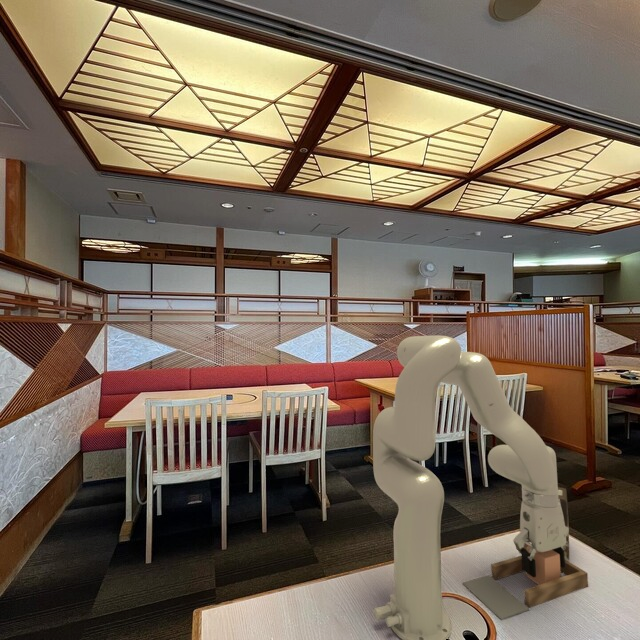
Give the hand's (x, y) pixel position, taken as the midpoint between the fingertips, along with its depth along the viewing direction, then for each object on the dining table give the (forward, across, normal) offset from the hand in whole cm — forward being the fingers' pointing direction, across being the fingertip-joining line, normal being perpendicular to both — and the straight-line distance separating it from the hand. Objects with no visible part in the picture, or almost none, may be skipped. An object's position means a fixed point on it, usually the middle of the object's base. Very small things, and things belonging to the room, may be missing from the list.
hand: (543, 568), depth 81 cm
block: (+3, 0, 0) cm, 3 cm away
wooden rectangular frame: (+3, -2, 0) cm, 3 cm away
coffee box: (+3, +14, +7) cm, 16 cm away
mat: (+2, -16, 0) cm, 16 cm away
